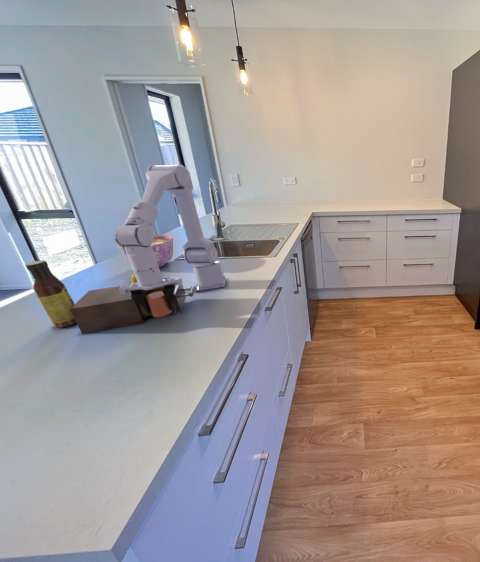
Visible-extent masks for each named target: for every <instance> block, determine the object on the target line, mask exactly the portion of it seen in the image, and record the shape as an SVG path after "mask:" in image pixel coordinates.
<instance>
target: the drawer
mask: <svg viewBox="0 0 480 562" xmlns="http://www.w3.org/2000/svg"><path fill="white" fill-rule="evenodd" d="M163 289H164V287H161V288H154V289H151V290H146V292H147V295H149V294H151V293H154V292H158V291H163ZM196 289H197V286H195V285H192V286H191V287H185V288H184V284H183V283H182V285H179V286H178V285H176V286H175V290H174V299H173V301H174V309H175V311H176V313H182V311H183V308H184V305H185V302H186V299H187V297H191V298H192V297H194V294H195V292H196ZM186 291H189V292H188V293H186ZM136 303H137V305H138V308H139V310H140V313H141V315H142V317H144V316H146V317H148V316H152V313H151V314H148V313H147V312H146V310H145V309H144V308H143V307H142V306H141V305H140V304H139V303H138V302H136Z"/></svg>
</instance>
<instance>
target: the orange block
mask: <svg viewBox="0 0 480 562" xmlns="http://www.w3.org/2000/svg"><path fill="white" fill-rule="evenodd" d="M146 300H147V303H148V306H149V308H150V311H151V313H152V315H151V316H152V317H153V318H163V317H166V316H168V315H170V314H172V312H173V310H170V309H169V306H168V302H167V299H166V297H165V295H164V294H163V292H162V291H158V292H154V293H151V294H149V295H147V296H146Z"/></svg>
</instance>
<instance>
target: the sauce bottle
mask: <svg viewBox="0 0 480 562" xmlns="http://www.w3.org/2000/svg"><path fill="white" fill-rule="evenodd" d="M25 267H26V270H28V271H29V272H30V274H31V276H32V278H33V279H34V282H33V285H32V289H33V291H34V293H35V295H36V296H37V299H38V300H39V303H40V304H41V306H42V307H43V309H44V311H45V313H46V314H47V316H48V318H49V320H50V321H51V323H52V324H53V325H54V327H55V328H59V329H62V328H68V327H71V326H73V325H76V324H77V322H76V320H75V318H74V316H73V314H72V312H71V310H70V308H71V307H72V306H74V305H75V304H76V303H75V302H74V300H73V298H72V296H71V294H70V293H69V291H68V289H67V286H66V285H65V284H64V282H63V281H61V280H60V279H59V278H58V277H56V276H55V274H53V272H52V271H51V269H50V267H49V264H48V262H47V260H44V259H42V260H35V261H31V262H28V263H26V264H25Z"/></svg>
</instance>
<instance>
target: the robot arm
mask: <svg viewBox="0 0 480 562" xmlns="http://www.w3.org/2000/svg"><path fill="white" fill-rule="evenodd" d="M145 178H146V181H147V183H146V186H145V189H144V192H143V195H142V198H141V201H137V202H134V203H133V205H132V206H131V210H130V212H129V214H128V215H127V218H126V220H125V222H124V224H122V225H120V226H119V227H117V228H116V229H115V232H114V237H115V238H114V242H115V243H116V244H117V245H119V246H121V247H122V249H123V252H125V253H126V254H127V256H128V258H129V261H130V263H131V264H130V263H129V264H130V266H131V268H132V271H133V274H135V277H136V279H137V282H136V283H132V282H131V283H128V284H123V285H120V286H121V287H120V288H119V290H120V292H121V294H126V293H129V292H131V298H132V299H133V300H135V301H136V302H138V303H139V304H140V305H141V306H142V307H143V308H144V309H145V310H146V312H147V313H148V314H151V311H150V308H149V306H148V303H147V300H146V296H147V292H146V290H151V289H154V288H161V287H164V289H163V291H162V292H163V294H164V295H165V297H166V299H167V302H168V306H169V309H170V310H172V311H173V310H174V309H175V306H174V301H173V299H174V290H175V286H176V285H178V286H179V285H182V284H183V283H184V282H183V278H182V277H181V276H174V277H172V276H171V277H163V275H162V272H161V270H160V267H159V266H158V264H157V261H156V258H155V255H154V252H153V249H152V246H151V244H152V242H153V241H154V235H155V234H154V231H155V230H154V229H155V228H154V225H155V223H156V221H157V218H158V216H159V210H158V209H157V206H158V204H159V203H160V201H161V199H162V197H163V195H164V194H165V192H166V191H168V192H169V193H170V194H172V195H174V197H175V198H174V199H175V201H176V205H177V209H178V212H179V216H180V219H181V223H182V226H183V229H184V233H185V236H186V241H185V242H184V243H183V245H182V250H183V252H182V253H183V259H184V261H185V262H186V263H187V264H189V266H190V267H192V269H193V272H194V276H195V279H196V283H197V286H196V289H195V291H196V292H200V291H207V290H212V289H218V288H224V287H225V286H226V275H225V273H224V269H223V265H222V262H221V261H217V260H218V258H219V253H218V250H217V248H216V246H215V243H214V241H212V240H210V239H208V238H207V237H205V236H204V233H203V229H202V225H201V222H200V216H199V214H198V211H197V206H196V203H195V199H194V196H193V192H192V191H193V190H194V186H193V181H192V177H191V174H190V171H189V169H187V168H186V167H185V166H184V165H183V164H172V165H171V164H170V165H169V164H167V165H166V164H165V165H161V164H160V165H154V164H150V165H149V166H148V167H147V169H146V172H145ZM129 261H128V262H129Z"/></svg>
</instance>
